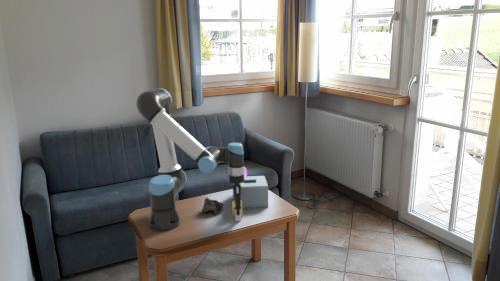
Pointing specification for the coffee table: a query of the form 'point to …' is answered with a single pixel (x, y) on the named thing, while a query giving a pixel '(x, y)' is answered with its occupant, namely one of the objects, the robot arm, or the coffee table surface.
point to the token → (234, 209)
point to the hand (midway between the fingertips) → (237, 216)
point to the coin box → (254, 192)
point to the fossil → (212, 206)
